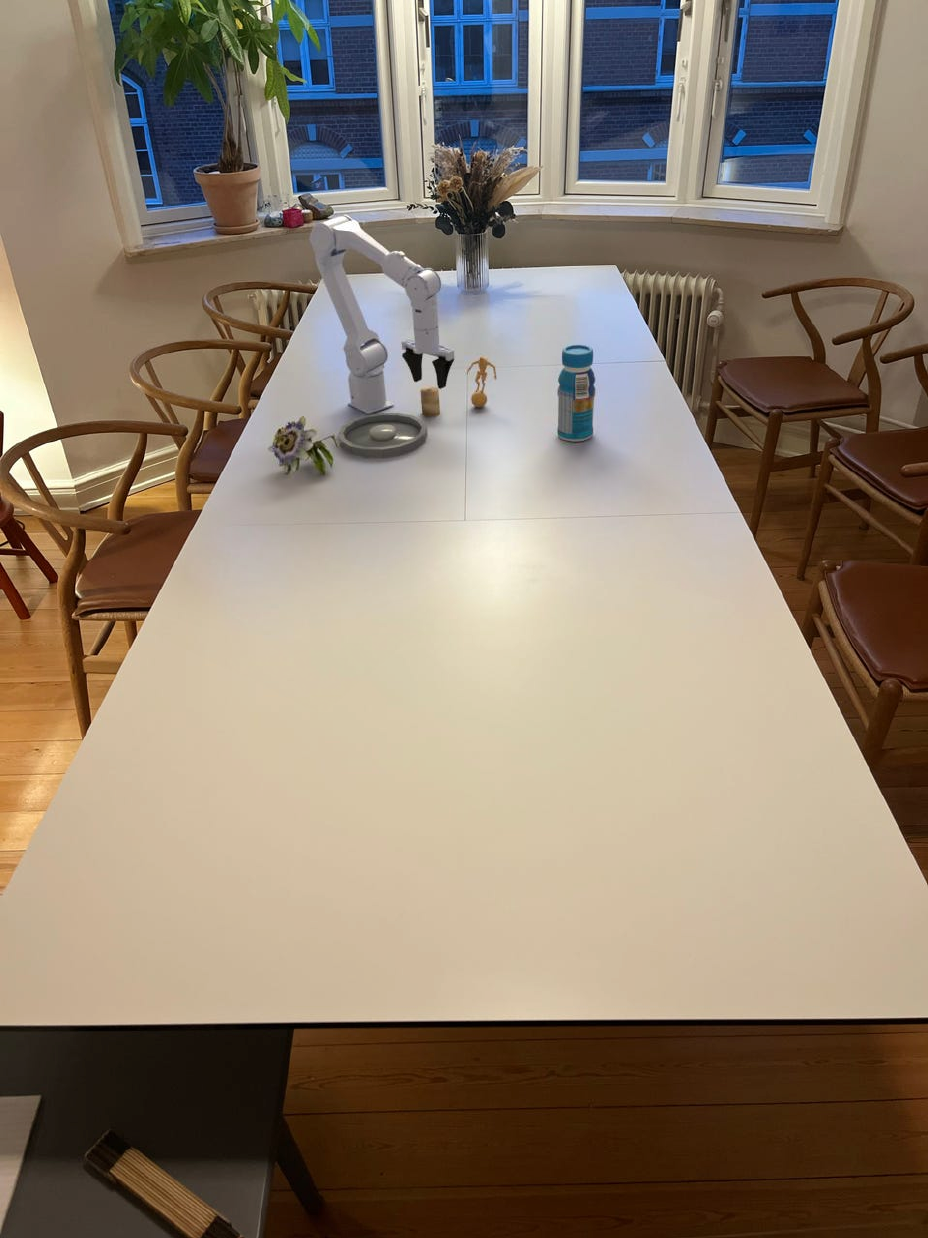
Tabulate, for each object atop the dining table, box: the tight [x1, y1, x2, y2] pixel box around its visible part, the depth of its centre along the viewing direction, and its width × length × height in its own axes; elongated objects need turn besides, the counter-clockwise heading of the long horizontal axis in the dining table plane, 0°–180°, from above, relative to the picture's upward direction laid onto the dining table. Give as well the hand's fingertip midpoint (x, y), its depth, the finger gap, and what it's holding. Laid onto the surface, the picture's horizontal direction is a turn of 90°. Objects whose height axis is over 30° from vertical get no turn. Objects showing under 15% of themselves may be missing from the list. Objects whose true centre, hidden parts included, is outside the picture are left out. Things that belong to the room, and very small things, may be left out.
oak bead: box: [419, 386, 441, 418], centre depth 214 cm, size 4×4×6 cm
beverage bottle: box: [556, 344, 596, 443], centre depth 195 cm, size 8×8×20 cm
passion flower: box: [268, 415, 340, 475], centre depth 192 cm, size 13×12×14 cm
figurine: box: [466, 356, 497, 408], centre depth 215 cm, size 8×6×12 cm
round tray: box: [337, 412, 429, 459], centre depth 204 cm, size 20×20×2 cm
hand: (429, 383), depth 208 cm, fingers open, 7 cm apart
